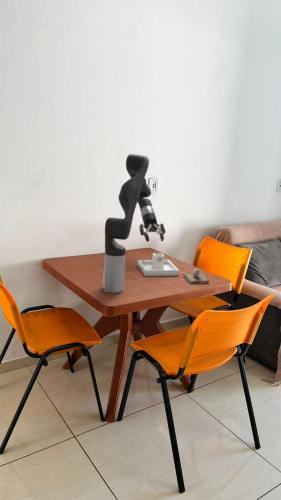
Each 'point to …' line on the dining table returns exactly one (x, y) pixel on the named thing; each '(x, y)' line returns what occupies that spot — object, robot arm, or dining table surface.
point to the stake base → (197, 280)
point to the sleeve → (158, 261)
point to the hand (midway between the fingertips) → (155, 240)
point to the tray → (149, 271)
